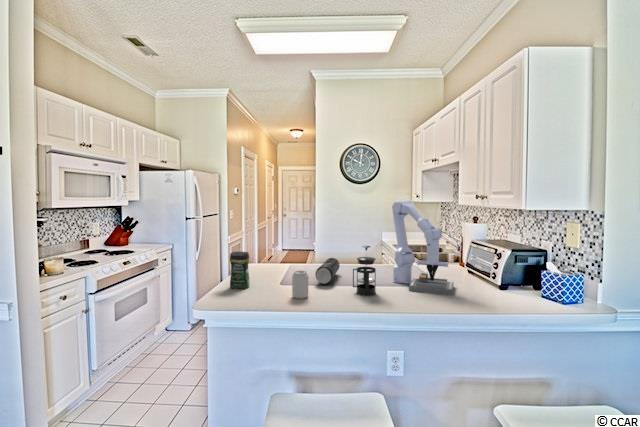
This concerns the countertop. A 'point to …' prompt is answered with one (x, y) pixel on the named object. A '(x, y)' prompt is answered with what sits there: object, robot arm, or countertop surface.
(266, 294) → the countertop surface
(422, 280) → the breaker toggle
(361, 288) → the french press
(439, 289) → the block
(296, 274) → the can
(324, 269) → the dark thermos flask
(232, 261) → the coffee jar
